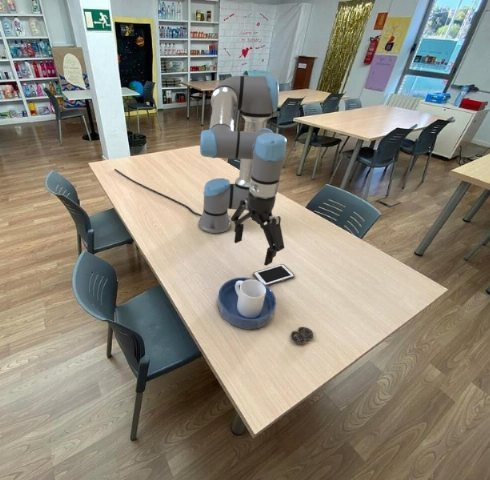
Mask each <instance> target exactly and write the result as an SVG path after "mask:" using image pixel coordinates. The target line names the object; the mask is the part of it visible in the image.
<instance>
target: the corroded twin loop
mask: <svg viewBox="0 0 490 480" xmlns="http://www.w3.org/2000/svg"><path fill="white" fill-rule="evenodd" d="M303 332H304V333H303ZM290 337H291V341H292V342H293V343H295V344H298V345H303V344H305V343H306V341H311V340H313V339H314V332H313V330H312V329H311V328H308V327H306V326H299V327H298V329H297V330H293V331H291V333H290Z"/></svg>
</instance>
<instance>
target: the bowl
mask: <svg viewBox="0 0 490 480" xmlns="http://www.w3.org/2000/svg"><path fill="white" fill-rule="evenodd" d="M249 279H252V280H257V279H256V278H251V277H243V276H242V277H234V278H231V279H229V280H227V281H225V282H224V283H223V284H222V285H221V286H220V288H219V290H218V295H217V296H218V297H217V308H218V309H217V310H218V312H219V313H220V315H221V317H222V318H223V319H224V320H225V321H226V322H227V323H230V324H231V325H232V326H233V327H237V328H240V329H243V330H256V329H259V328H262V327H265V326H266V325H268V324H269V323H270V322H271V320H272V319H273V318H274V313H275V310H276V306H277V298H276V296H275V294H274V292H273V290H272V289H271V288H270V287H269V285H268V286H266V285H265V284H264V283H262V282H261V283H262V284H263V285H264V286H265V288H266V293H265V298H264V302H263V306H262V311H261V313H260V315H259V316H257V317H255V318H246V317H244V316H242V315H241V314H240V313H239V311H238V309H237V303H238V295H237V293H236V290H235V284H236V282H237V281H245V280H249ZM257 281H258V280H257ZM259 282H260V281H259ZM239 290H240V285H239Z"/></svg>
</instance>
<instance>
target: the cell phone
mask: <svg viewBox="0 0 490 480" xmlns="http://www.w3.org/2000/svg"><path fill="white" fill-rule="evenodd" d="M252 275H253V277H254V279H255V280H258V281H260V282H262V283H264V284H265V285H266V286H268V287H269V286H270V285H274V284H277V283H281V282H284V281H287V280H290V279H293V278H294V277H295V274H294V273H293V272H292V270H290V269H289V268H288V267H287V266H286V265H285V264H283V263H281V264H278V265H274V266H271V267H267V268H264V269H260V270H257V271H254V272H253V273H252Z"/></svg>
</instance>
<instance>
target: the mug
mask: <svg viewBox="0 0 490 480" xmlns="http://www.w3.org/2000/svg"><path fill="white" fill-rule="evenodd" d="M252 279H253V278H252ZM252 279H249V280H245V281H237V282H236V284H235V290H236V293H237V295H238V303H237V309H238V311H239V313H240V314H241V315H242V316H244V317H246V318H255V317H257V316H259V315H260V313H261V311H262V306H263V302H264V298H265V293H266V288H265V286H264V285H263V284H262V283H261V282H259V281H257V279H255V280H252ZM239 285H240V290H239Z"/></svg>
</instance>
